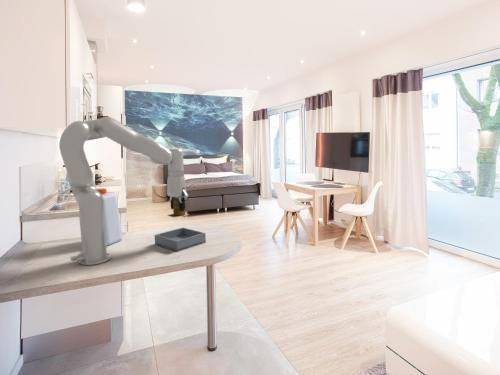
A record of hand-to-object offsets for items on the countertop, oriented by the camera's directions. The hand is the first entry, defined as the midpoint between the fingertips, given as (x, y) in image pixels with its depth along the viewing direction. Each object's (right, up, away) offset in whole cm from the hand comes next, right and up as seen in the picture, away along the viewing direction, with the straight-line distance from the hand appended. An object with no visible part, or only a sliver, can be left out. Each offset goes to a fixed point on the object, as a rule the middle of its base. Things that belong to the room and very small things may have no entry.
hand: (178, 209), depth 158 cm
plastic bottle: (-40, -18, +7) cm, 44 cm away
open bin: (+1, -18, +3) cm, 18 cm away
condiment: (0, -3, +1) cm, 3 cm away
